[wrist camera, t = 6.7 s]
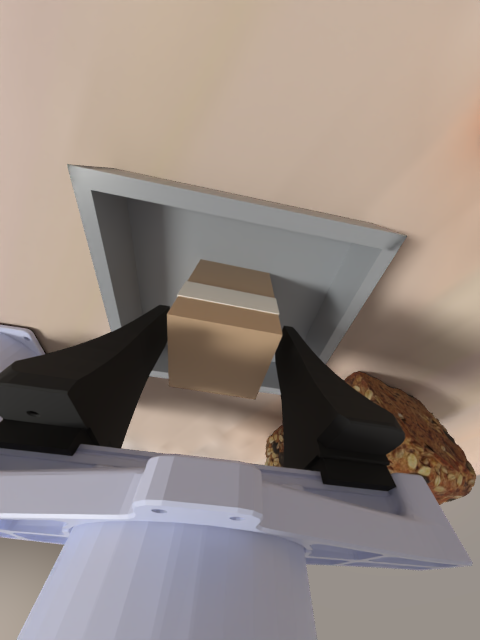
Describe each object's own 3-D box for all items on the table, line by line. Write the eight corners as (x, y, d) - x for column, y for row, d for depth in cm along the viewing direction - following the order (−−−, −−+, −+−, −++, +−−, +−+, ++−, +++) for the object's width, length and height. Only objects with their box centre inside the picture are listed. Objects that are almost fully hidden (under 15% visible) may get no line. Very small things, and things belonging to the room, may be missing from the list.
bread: (313, 452, 33) (335, 543, 24) (258, 435, 30) (262, 531, 22) (423, 395, 23) (520, 516, 15) (357, 362, 20) (430, 487, 12)
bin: (296, 368, 21) (304, 398, 18) (140, 344, 20) (121, 372, 17) (371, 223, 13) (406, 236, 10) (112, 167, 11) (66, 164, 9)
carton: (253, 327, 17) (256, 399, 12) (195, 316, 17) (167, 386, 11) (270, 272, 14) (284, 334, 9) (200, 258, 14) (165, 313, 8)
